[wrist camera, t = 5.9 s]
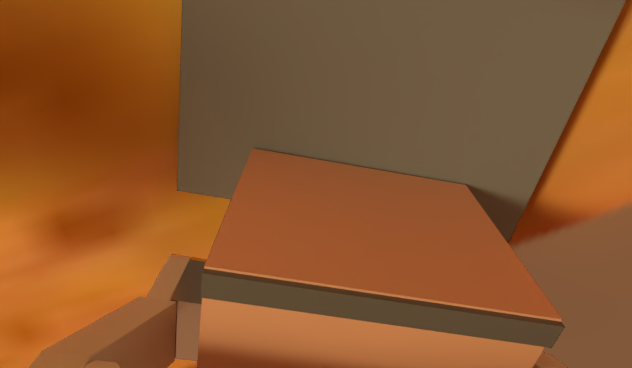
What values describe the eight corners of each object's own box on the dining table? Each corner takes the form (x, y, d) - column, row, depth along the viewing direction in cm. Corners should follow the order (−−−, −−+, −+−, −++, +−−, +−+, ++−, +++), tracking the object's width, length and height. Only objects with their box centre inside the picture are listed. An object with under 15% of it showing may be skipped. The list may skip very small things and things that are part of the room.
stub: (252, 147, 11) (202, 270, 6) (466, 185, 11) (566, 324, 7) (232, 312, 13) (187, 482, 9) (405, 336, 14) (447, 510, 9)
